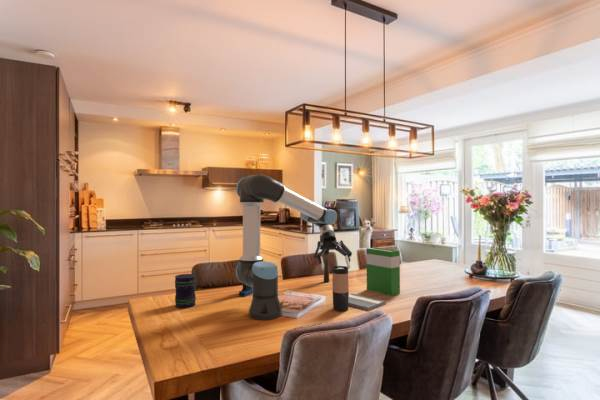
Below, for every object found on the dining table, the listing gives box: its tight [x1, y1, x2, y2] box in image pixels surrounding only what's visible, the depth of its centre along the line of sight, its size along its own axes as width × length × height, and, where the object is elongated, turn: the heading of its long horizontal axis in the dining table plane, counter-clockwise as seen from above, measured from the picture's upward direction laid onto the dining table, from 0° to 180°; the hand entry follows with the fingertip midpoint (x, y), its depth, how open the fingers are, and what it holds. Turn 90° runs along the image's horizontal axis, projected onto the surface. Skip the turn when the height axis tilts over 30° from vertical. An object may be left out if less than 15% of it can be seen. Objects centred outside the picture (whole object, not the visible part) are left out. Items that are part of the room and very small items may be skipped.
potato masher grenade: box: [319, 234, 330, 283], centre depth 225 cm, size 8×9×30 cm
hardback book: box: [365, 246, 401, 297], centre depth 200 cm, size 18×7×24 cm, turn 38°
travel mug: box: [332, 265, 350, 312], centre depth 168 cm, size 8×8×20 cm
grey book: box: [348, 293, 386, 312], centre depth 178 cm, size 15×21×2 cm
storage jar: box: [174, 273, 197, 310], centre depth 176 cm, size 10×10×15 cm
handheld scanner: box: [236, 260, 253, 297], centre depth 198 cm, size 5×16×20 cm, turn 152°
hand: (336, 267), depth 177 cm, fingers open, 13 cm apart
